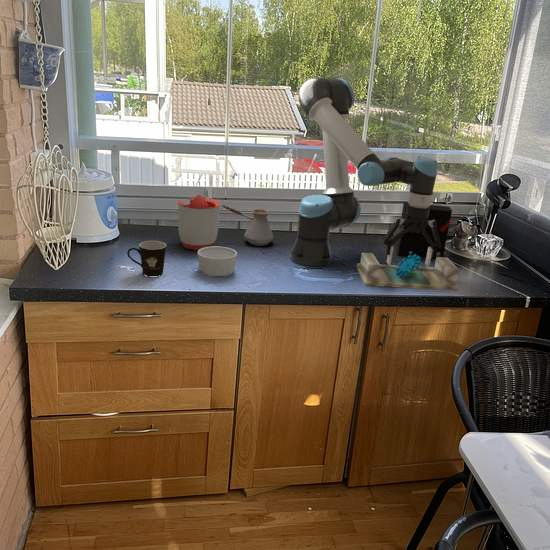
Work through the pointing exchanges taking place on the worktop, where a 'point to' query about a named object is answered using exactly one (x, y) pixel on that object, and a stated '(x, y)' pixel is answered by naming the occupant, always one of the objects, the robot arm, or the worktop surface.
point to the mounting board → (428, 277)
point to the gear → (408, 266)
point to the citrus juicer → (198, 222)
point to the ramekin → (217, 260)
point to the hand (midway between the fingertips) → (407, 264)
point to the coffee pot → (257, 227)
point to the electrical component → (417, 241)
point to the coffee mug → (151, 257)
